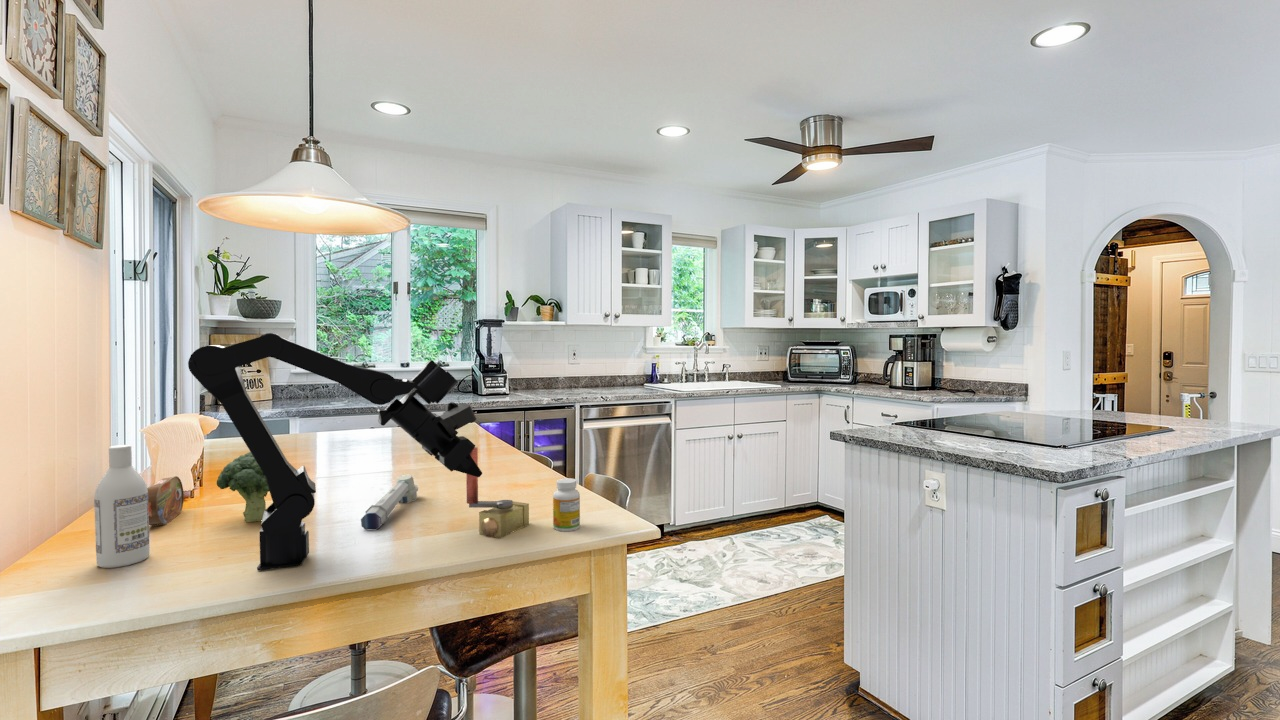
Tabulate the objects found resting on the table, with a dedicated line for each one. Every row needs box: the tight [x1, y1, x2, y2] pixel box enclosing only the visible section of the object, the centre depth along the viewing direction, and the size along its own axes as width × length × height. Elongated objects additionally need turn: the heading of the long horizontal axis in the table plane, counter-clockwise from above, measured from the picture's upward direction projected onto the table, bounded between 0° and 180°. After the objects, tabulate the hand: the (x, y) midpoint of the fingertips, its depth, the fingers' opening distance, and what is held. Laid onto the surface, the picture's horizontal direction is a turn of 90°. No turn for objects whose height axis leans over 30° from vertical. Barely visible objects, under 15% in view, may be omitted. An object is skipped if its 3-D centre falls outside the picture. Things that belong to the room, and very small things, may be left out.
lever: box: [465, 446, 513, 509], centre depth 119 cm, size 9×3×12 cm, turn 90°
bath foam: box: [93, 444, 151, 569], centre depth 102 cm, size 7×7×20 cm
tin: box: [147, 476, 185, 527], centre depth 126 cm, size 15×3×8 cm, turn 22°
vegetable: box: [216, 451, 270, 523], centre depth 125 cm, size 12×13×15 cm
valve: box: [478, 500, 530, 539], centre depth 119 cm, size 10×5×4 cm, turn 155°
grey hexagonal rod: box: [360, 473, 419, 530], centre depth 131 cm, size 5×7×25 cm
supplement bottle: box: [552, 477, 581, 532], centre depth 121 cm, size 5×5×10 cm
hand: (477, 472), depth 119 cm, fingers open, 4 cm apart
